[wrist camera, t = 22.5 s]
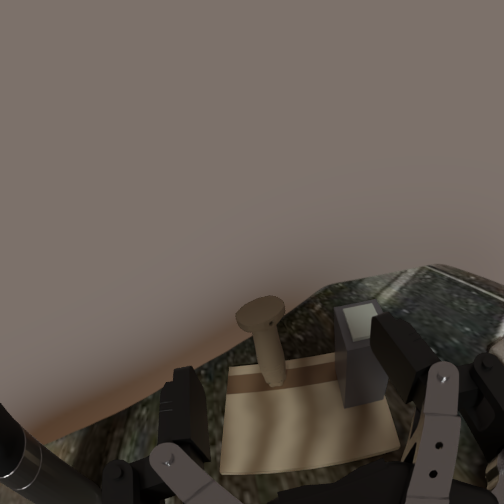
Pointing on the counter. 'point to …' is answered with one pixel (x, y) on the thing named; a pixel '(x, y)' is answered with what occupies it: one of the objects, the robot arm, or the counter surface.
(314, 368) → the subfloor panel
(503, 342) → the washcloth
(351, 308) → the grey tall block
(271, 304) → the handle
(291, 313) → the counter surface
